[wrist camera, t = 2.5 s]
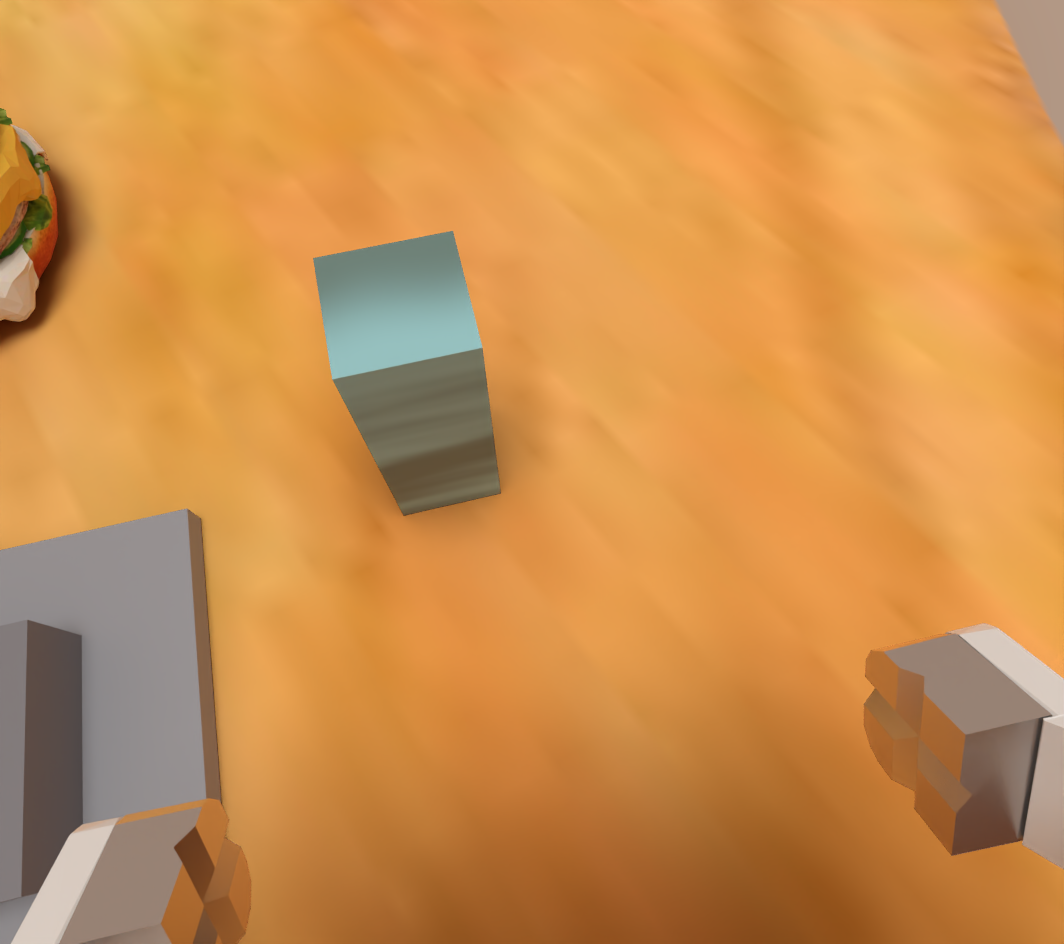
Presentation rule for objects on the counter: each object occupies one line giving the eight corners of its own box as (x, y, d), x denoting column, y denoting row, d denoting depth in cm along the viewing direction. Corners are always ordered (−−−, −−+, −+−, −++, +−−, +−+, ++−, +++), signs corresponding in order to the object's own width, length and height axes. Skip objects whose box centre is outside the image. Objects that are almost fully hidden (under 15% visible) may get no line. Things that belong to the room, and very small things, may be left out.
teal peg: (500, 493, 29) (482, 347, 19) (403, 515, 29) (332, 379, 19) (480, 408, 31) (452, 230, 21) (387, 428, 30) (313, 258, 20)
